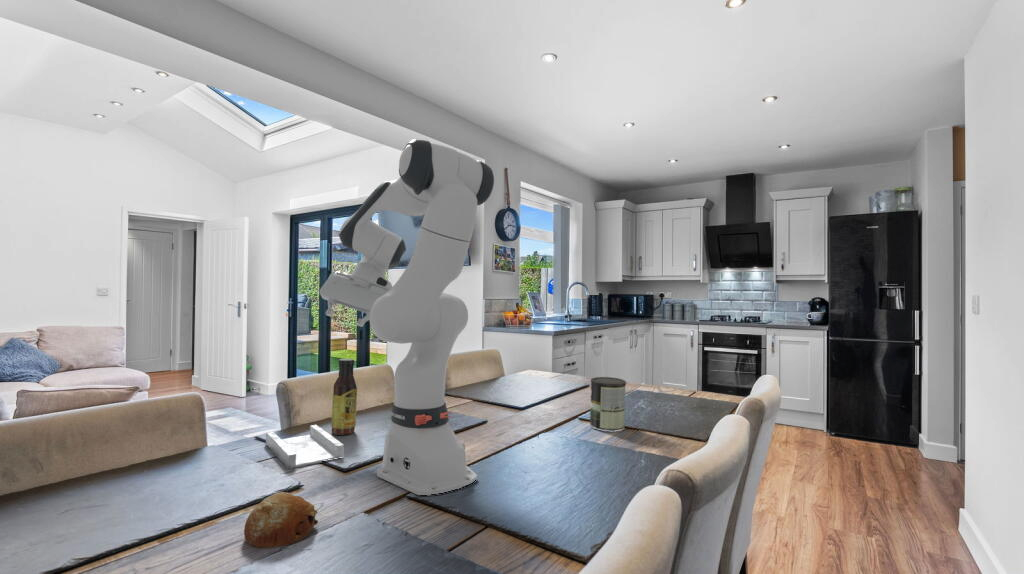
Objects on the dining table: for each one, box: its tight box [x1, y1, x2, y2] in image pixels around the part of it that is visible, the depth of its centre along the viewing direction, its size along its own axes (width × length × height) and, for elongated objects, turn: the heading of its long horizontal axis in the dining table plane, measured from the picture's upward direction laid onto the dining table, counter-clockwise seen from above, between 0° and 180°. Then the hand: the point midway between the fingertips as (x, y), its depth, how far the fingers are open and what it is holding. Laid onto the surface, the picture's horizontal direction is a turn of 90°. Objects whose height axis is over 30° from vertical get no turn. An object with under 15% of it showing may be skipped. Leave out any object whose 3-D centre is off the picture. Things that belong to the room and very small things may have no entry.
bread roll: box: [243, 491, 319, 549], centre depth 77 cm, size 10×10×8 cm
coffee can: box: [589, 376, 627, 431], centre depth 142 cm, size 10×10×14 cm
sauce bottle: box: [330, 358, 358, 436], centre depth 129 cm, size 6×6×20 cm
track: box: [265, 424, 345, 470], centre depth 114 cm, size 20×12×3 cm, turn 40°
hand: (343, 320), depth 133 cm, fingers open, 8 cm apart
